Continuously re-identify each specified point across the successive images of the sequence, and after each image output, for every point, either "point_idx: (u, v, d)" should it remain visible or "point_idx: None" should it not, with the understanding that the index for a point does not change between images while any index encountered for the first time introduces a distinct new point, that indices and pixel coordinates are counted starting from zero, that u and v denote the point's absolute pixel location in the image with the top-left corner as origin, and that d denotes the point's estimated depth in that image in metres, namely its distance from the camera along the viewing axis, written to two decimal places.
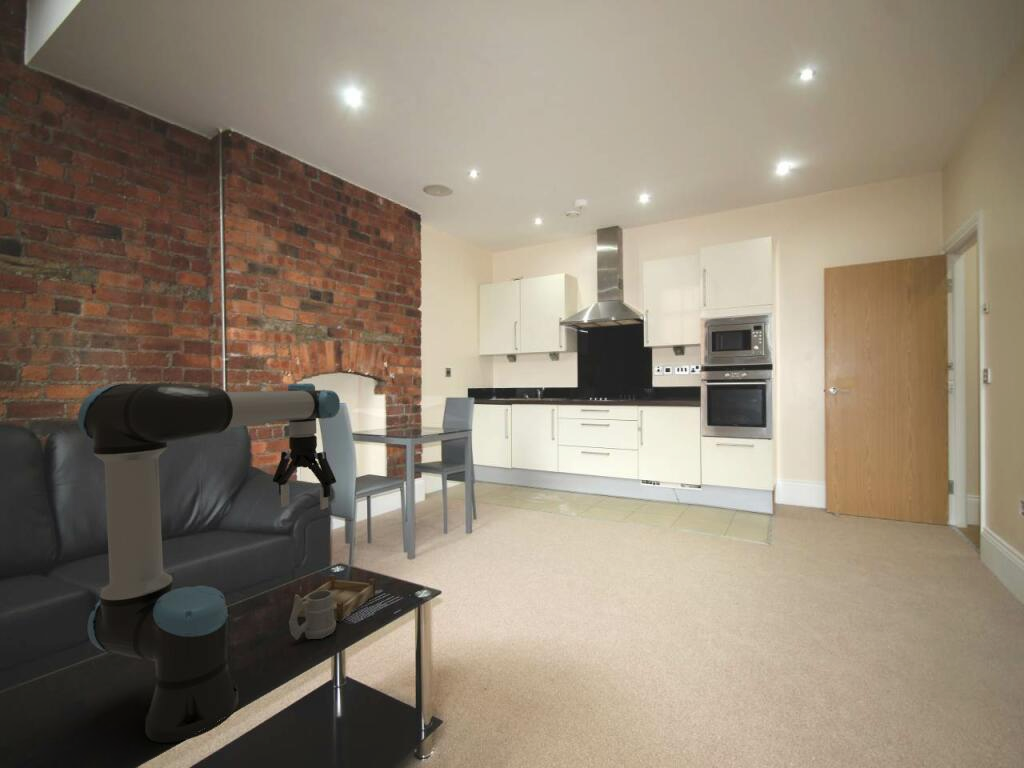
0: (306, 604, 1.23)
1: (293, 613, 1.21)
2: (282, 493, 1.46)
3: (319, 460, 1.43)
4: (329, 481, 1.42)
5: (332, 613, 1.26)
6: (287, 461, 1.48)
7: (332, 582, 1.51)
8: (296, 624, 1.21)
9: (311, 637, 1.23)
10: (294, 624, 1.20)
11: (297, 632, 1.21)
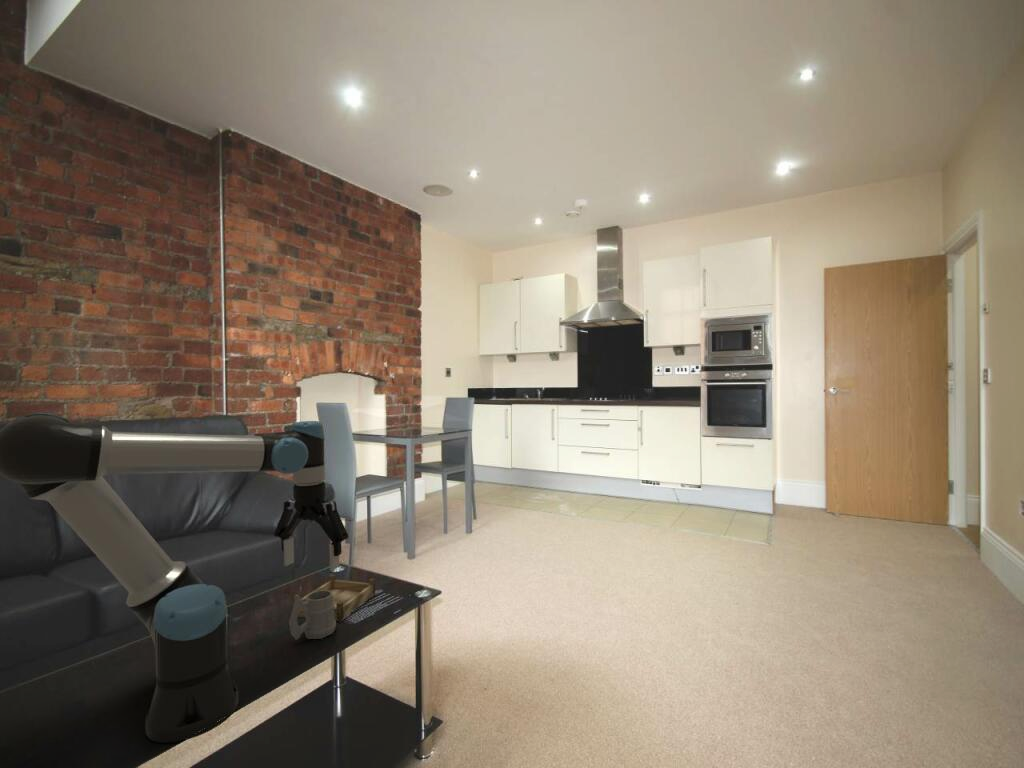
0: (306, 604, 1.23)
1: (293, 613, 1.21)
2: (285, 550, 1.25)
3: (328, 512, 1.22)
4: (340, 537, 1.21)
5: (332, 613, 1.26)
6: (291, 512, 1.27)
7: (332, 582, 1.51)
8: (296, 624, 1.21)
9: (311, 637, 1.23)
10: (294, 624, 1.20)
11: (297, 632, 1.21)
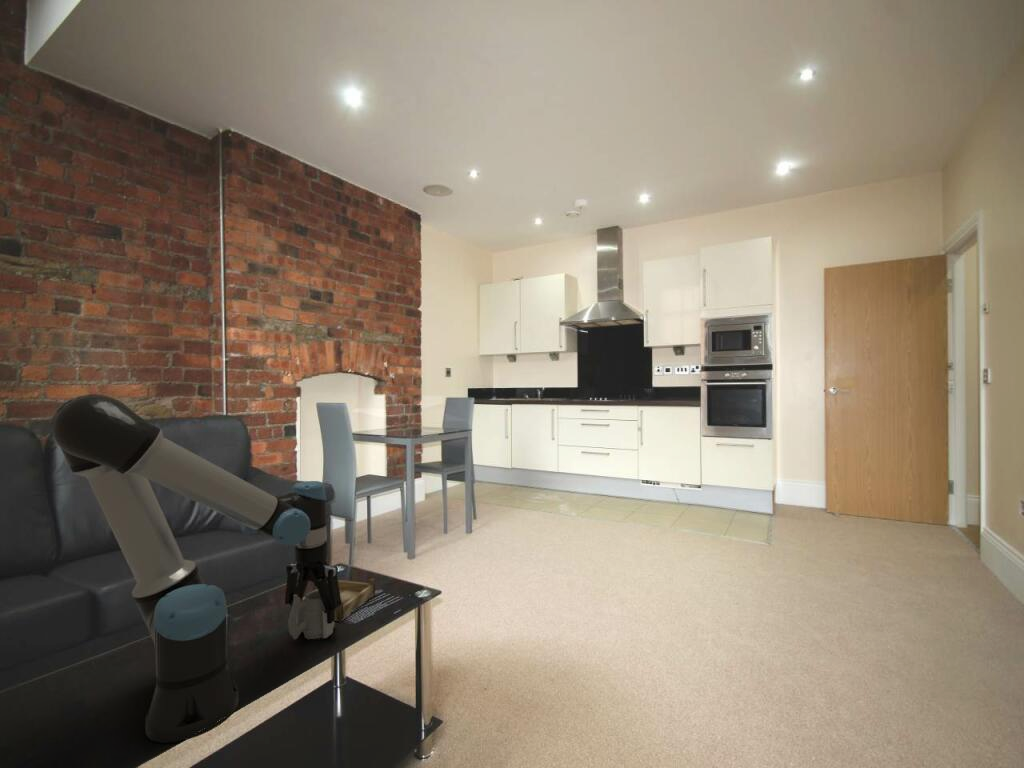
0: (305, 604, 1.23)
1: (292, 613, 1.21)
2: (296, 618, 1.25)
3: (328, 578, 1.22)
4: (334, 606, 1.22)
5: None
6: (296, 575, 1.27)
7: None
8: (295, 624, 1.21)
9: (310, 637, 1.23)
10: (293, 624, 1.20)
11: (296, 632, 1.21)
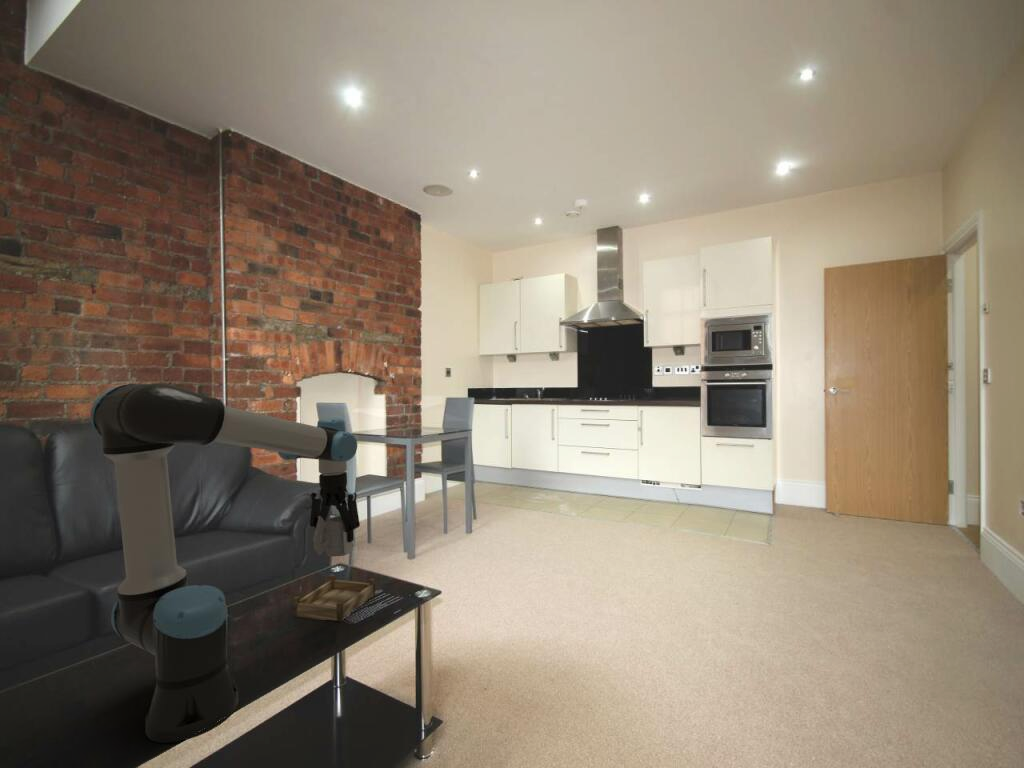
0: (327, 525, 1.40)
1: (316, 531, 1.37)
2: (320, 538, 1.41)
3: (349, 502, 1.39)
4: (353, 526, 1.38)
5: None
6: (319, 501, 1.43)
7: (332, 582, 1.51)
8: (319, 541, 1.38)
9: (332, 554, 1.40)
10: (317, 541, 1.37)
11: (320, 548, 1.38)
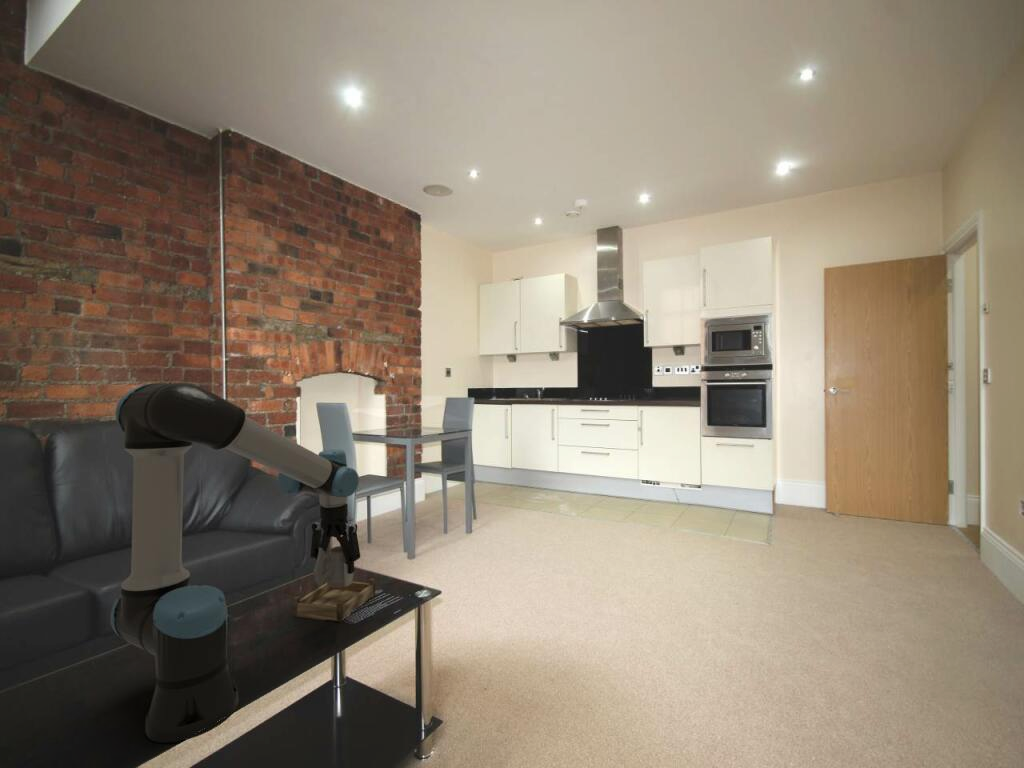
0: (328, 556, 1.40)
1: (317, 563, 1.38)
2: None
3: (349, 534, 1.39)
4: (354, 558, 1.39)
5: None
6: (320, 532, 1.44)
7: None
8: (320, 573, 1.38)
9: (332, 585, 1.41)
10: (318, 573, 1.38)
11: (321, 580, 1.38)
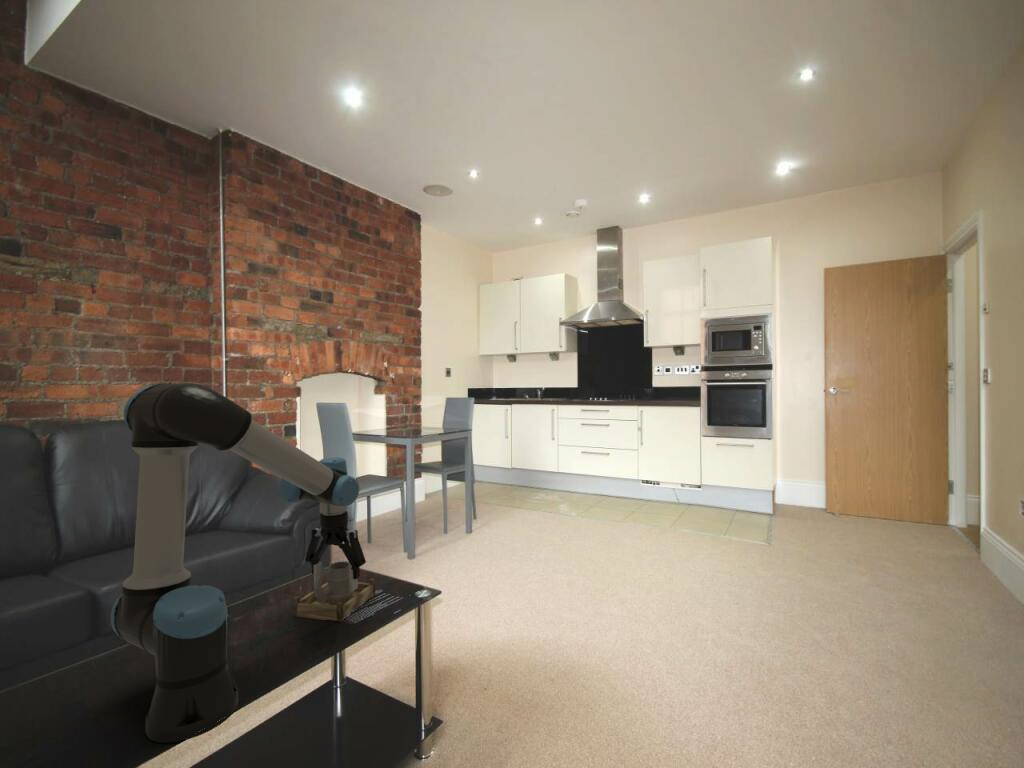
0: (328, 572, 1.40)
1: (318, 580, 1.38)
2: (315, 573, 1.42)
3: (351, 540, 1.39)
4: (359, 563, 1.38)
5: None
6: (318, 538, 1.44)
7: None
8: (320, 589, 1.38)
9: (332, 601, 1.40)
10: (318, 590, 1.38)
11: (321, 596, 1.38)
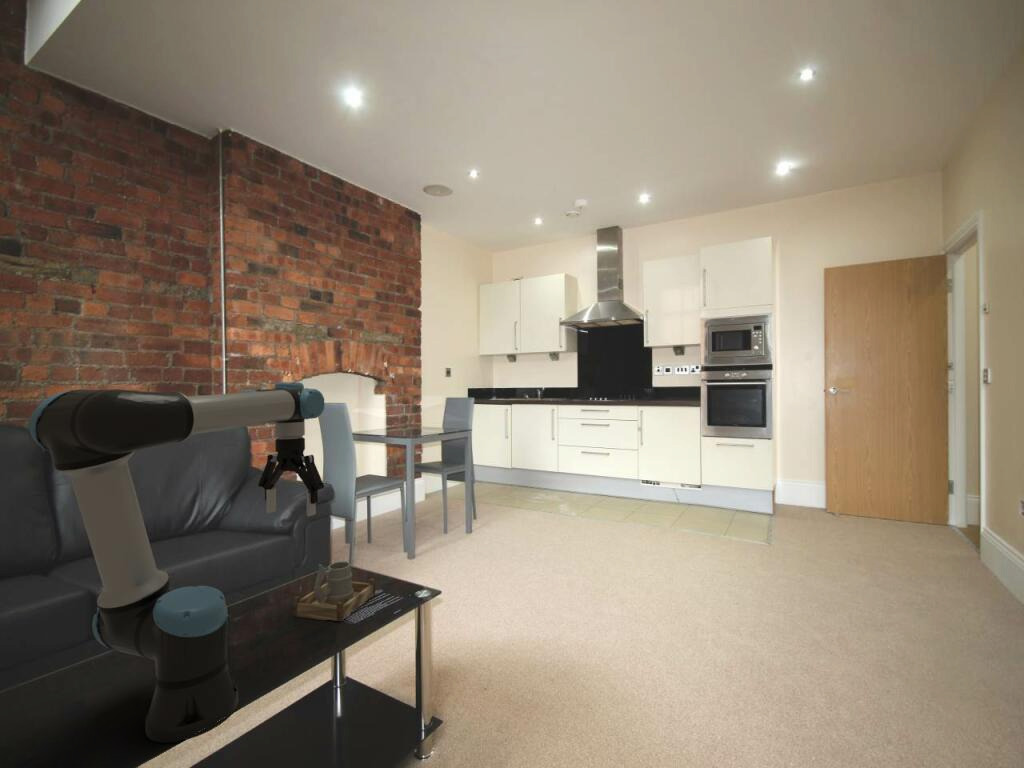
0: (328, 572, 1.40)
1: (317, 580, 1.38)
2: (268, 498, 1.38)
3: (306, 464, 1.34)
4: (316, 486, 1.33)
5: (350, 581, 1.44)
6: (274, 464, 1.40)
7: None
8: (320, 589, 1.38)
9: (332, 601, 1.40)
10: (318, 590, 1.38)
11: (321, 597, 1.38)
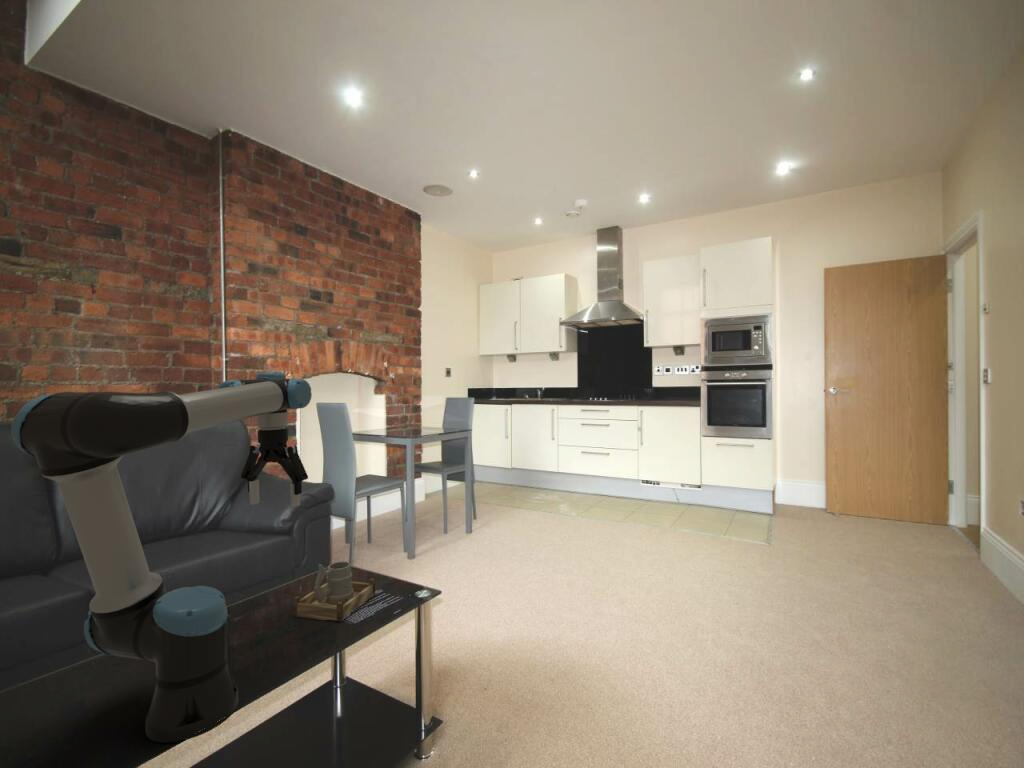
0: (328, 572, 1.40)
1: (317, 580, 1.38)
2: (251, 490, 1.37)
3: (289, 455, 1.33)
4: (300, 477, 1.32)
5: (350, 581, 1.44)
6: (256, 456, 1.38)
7: None
8: (320, 589, 1.38)
9: (332, 601, 1.40)
10: (318, 590, 1.38)
11: (321, 597, 1.38)
